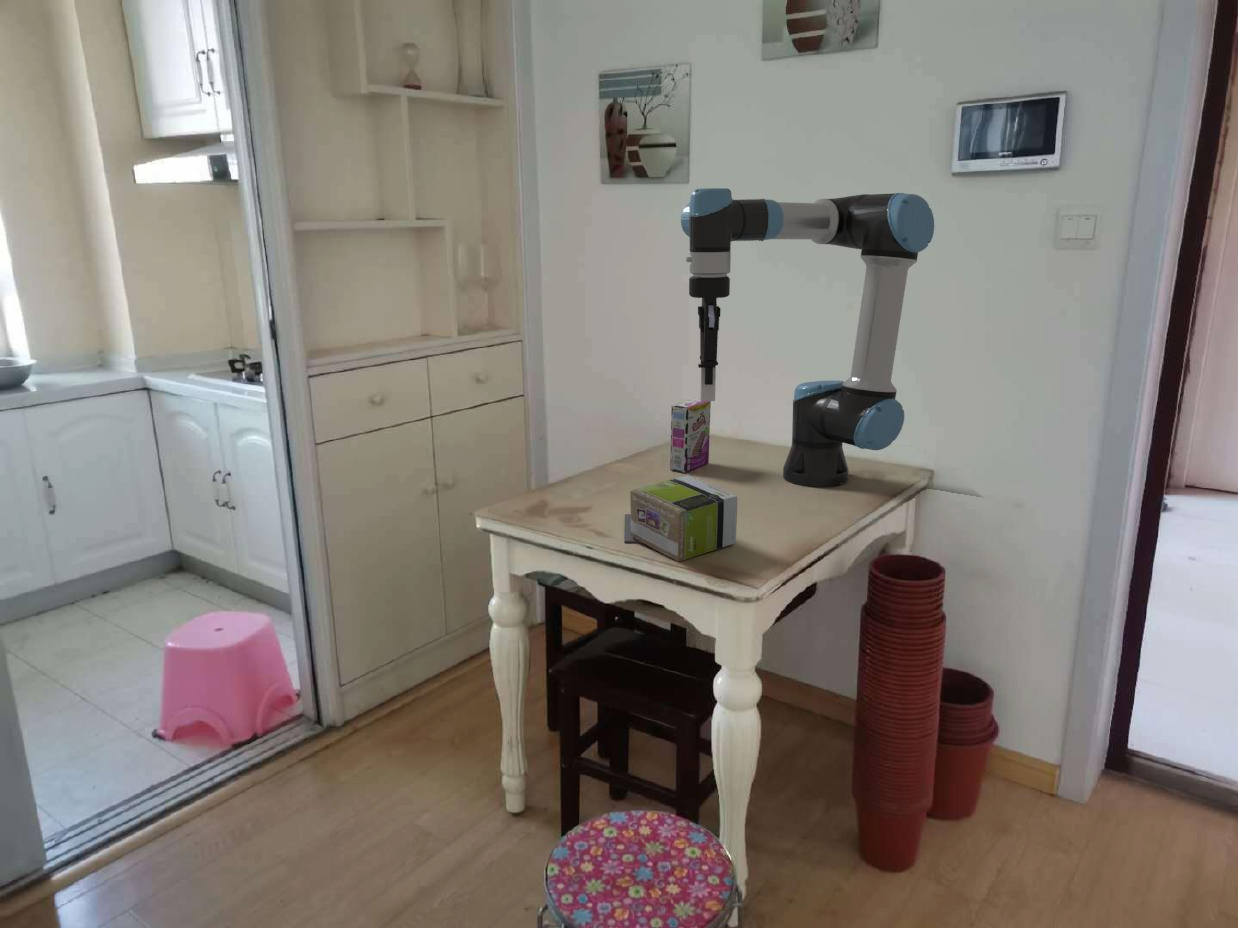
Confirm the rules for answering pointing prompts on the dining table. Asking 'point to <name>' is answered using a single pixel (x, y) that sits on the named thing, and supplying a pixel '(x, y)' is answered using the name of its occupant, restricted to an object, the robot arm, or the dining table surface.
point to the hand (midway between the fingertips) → (707, 400)
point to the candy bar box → (690, 435)
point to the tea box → (683, 517)
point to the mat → (629, 530)
